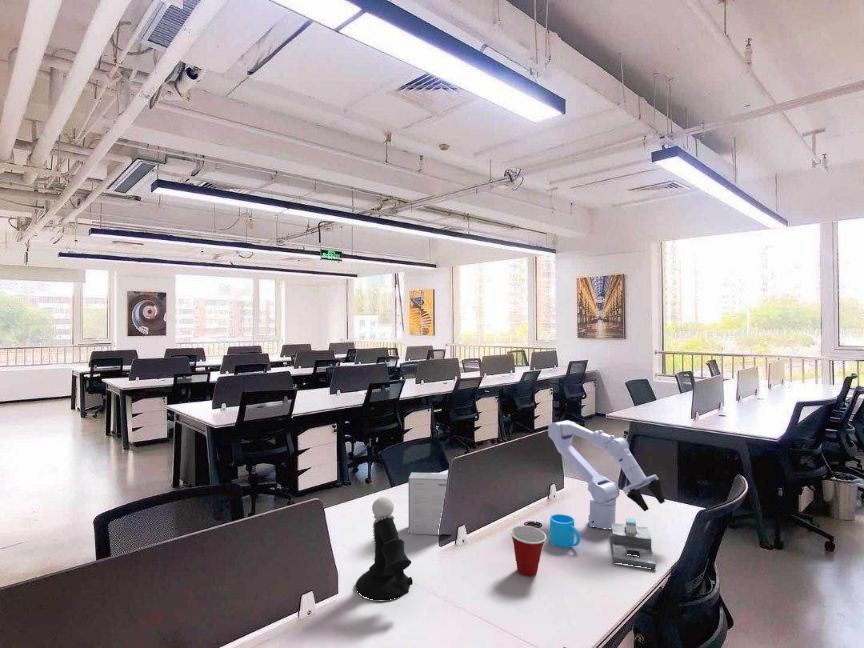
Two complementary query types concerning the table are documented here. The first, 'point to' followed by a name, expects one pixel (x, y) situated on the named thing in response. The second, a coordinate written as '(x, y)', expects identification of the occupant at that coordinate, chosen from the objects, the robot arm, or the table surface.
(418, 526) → the hard drive box
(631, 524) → the plug
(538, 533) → the plastic cup
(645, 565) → the patch panel
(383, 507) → the sculpture
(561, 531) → the mug
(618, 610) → the table surface
